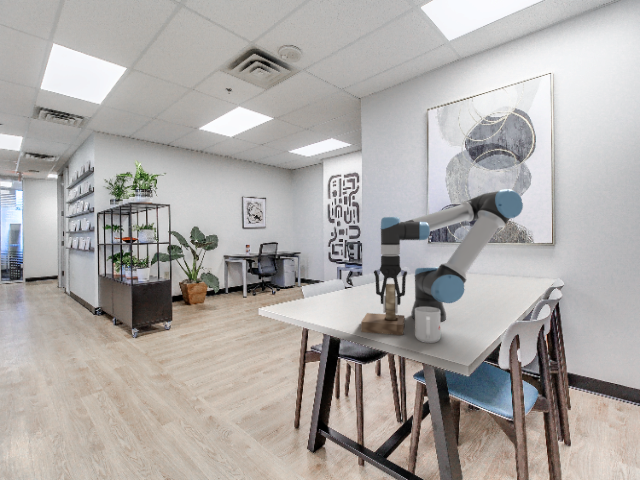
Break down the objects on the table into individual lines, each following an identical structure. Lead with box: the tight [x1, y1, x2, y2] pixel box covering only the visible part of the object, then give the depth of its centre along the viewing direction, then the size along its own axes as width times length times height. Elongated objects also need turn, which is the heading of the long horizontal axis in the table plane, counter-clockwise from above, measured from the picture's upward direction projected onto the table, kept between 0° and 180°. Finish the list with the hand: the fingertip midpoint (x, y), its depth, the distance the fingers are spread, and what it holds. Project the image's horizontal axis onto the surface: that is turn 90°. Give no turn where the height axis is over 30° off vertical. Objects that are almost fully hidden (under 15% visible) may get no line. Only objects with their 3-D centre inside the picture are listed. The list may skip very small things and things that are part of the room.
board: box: [360, 312, 405, 336], centre depth 132 cm, size 16×14×4 cm
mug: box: [414, 307, 442, 344], centre depth 116 cm, size 12×9×11 cm
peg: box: [385, 283, 397, 320], centre depth 130 cm, size 4×4×14 cm
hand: (390, 312), depth 131 cm, fingers closed on peg, 4 cm apart
